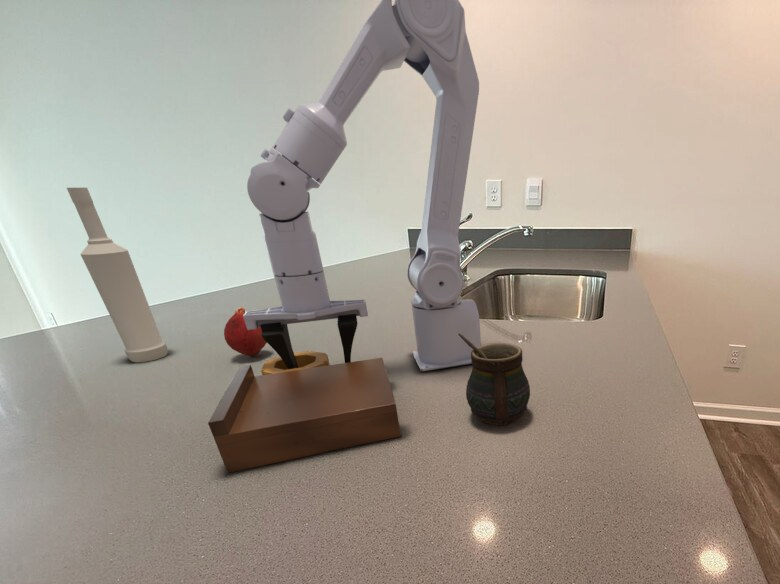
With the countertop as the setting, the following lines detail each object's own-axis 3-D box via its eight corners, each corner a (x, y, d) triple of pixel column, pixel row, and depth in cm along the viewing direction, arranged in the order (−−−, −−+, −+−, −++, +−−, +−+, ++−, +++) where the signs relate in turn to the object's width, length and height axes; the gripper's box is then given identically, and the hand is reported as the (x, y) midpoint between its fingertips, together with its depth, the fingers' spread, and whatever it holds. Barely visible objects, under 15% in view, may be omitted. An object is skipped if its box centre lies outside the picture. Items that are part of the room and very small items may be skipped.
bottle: (121, 360, 65) (41, 188, 55) (157, 349, 70) (89, 188, 59) (141, 364, 63) (62, 187, 53) (176, 353, 68) (110, 187, 57)
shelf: (387, 384, 55) (380, 346, 53) (400, 436, 43) (393, 390, 41) (253, 407, 50) (239, 366, 48) (227, 473, 38) (207, 422, 36)
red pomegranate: (255, 364, 63) (239, 313, 59) (223, 362, 64) (206, 312, 60) (281, 351, 68) (268, 303, 64) (251, 349, 69) (237, 302, 66)
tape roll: (331, 366, 61) (327, 348, 60) (331, 388, 54) (326, 367, 53) (272, 375, 59) (266, 356, 57) (264, 399, 52) (257, 377, 51)
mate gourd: (536, 428, 44) (537, 341, 40) (467, 436, 43) (460, 347, 39) (524, 398, 51) (523, 320, 46) (463, 404, 50) (456, 325, 45)
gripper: (225, 283, 46) (260, 392, 51) (361, 272, 50) (378, 373, 56) (238, 273, 52) (268, 371, 57) (358, 264, 56) (374, 355, 62)
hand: (322, 371), depth 57 cm, fingers open, 6 cm apart
